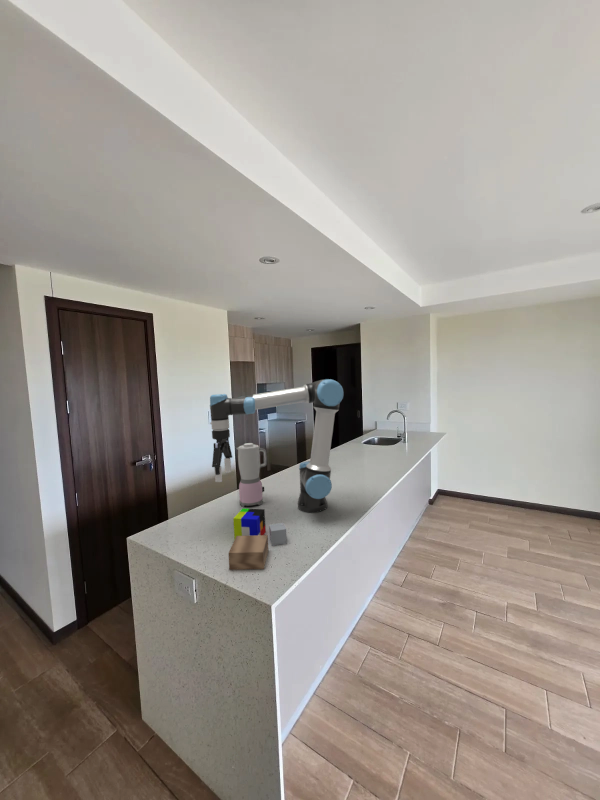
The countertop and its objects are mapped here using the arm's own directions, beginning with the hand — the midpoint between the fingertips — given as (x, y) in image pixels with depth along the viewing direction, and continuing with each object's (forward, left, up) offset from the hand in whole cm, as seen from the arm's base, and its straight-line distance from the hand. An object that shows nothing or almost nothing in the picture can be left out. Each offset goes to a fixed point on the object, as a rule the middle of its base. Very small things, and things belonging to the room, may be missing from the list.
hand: (223, 476), depth 141 cm
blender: (-8, -28, -23) cm, 37 cm away
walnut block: (-16, +26, -23) cm, 38 cm away
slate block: (-25, +13, -23) cm, 36 cm away
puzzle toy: (-13, +9, -23) cm, 28 cm away
